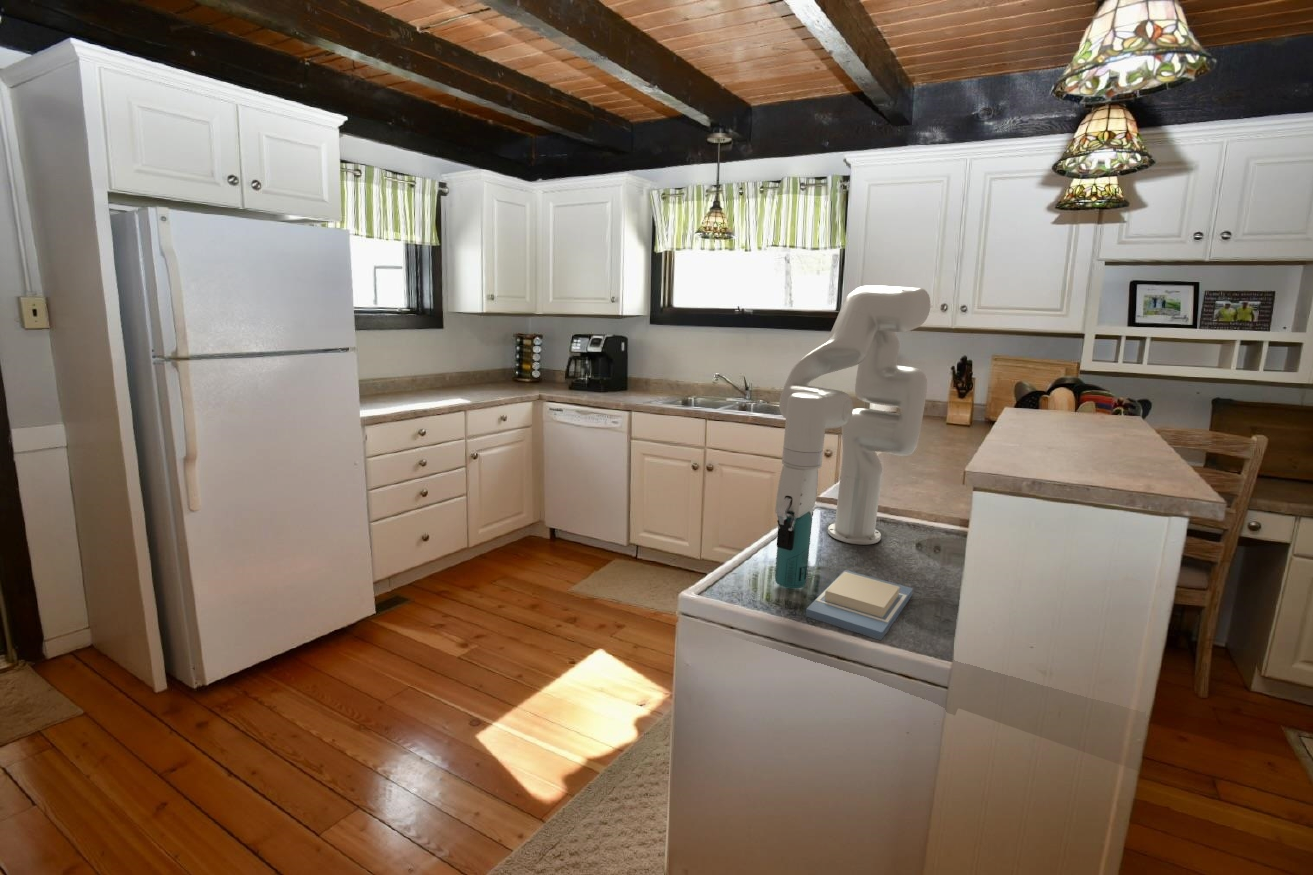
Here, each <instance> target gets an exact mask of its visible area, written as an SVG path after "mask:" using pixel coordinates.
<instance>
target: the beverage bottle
mask: <svg viewBox="0 0 1313 875" xmlns="http://www.w3.org/2000/svg"><path fill="white" fill-rule="evenodd" d="M787 513H789V514H793V515H794V513H791V512H787ZM786 519H787V520H788V521H789V523H790V522H791V519H790V518H786ZM811 522H812V523H813V516H811V515H810V514H809V513H808V512H807V513H806V514H804V515H803V516H801V517H800V518H797V519H796V522H795V525H794V528H793V530H794V531H795V534H794V544H793V549H792V550H791V551H790V550H786V549H782V548H779V547H777V546H776V557H775V570H774V576H773V577H774V579H775V580H774V581H775V583H776V584H777V585H778V586H781V587H783V588H787V589H802V588H803V587H805V585H806V584H807V578H808V574H809V572H808V571H809V570H808V568H809V557H810V545H811V535H810V533H811V534H812V527H811Z"/></svg>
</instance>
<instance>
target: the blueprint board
mask: <svg viewBox="0 0 1313 875" xmlns="http://www.w3.org/2000/svg"><path fill="white" fill-rule="evenodd" d="M913 592H914V588H913V587H909V586H906V585H902V584H899V583H895V582H891V581H887V580H884V579H880V578H877V577H873V576H869V575H867V574H866V575H865V574H862V573H858V572H854V571H850V570H846V569H844V570H843V571H841V573H840V574H839V575H838V576H837V577H836V578H835V579H834V580H833V581H832V582H831V583H830V584H829V585H828V586H827V587H826V589H824V590H823V591H822V592H821V594H819V596H817V598H815V599H814V600H813V601H812V603H810V604H809V605H808V606H807V608H806V609H805V617H807V618H811V619H812V620H813V619H814V620H817V621H820V622H822V623H826V624H829V625H832V626H835V627H838V628H842V629H845V630H848V631H851V632H854V633H856V634H860V635H863V636H866V637H869V638H873V639H877V640H880V641H882V640H883V638H884V637H885V635H886V634H887V633H888V632H889V629H890V628H891V626H892V625H893V624H894V622H896V620H897V618H898V616H899V615H900V614H901V612H902V611H903V609H904V608H905V606H906V605H907V603H908V602H909V601H910V599H911V598H912V597H913ZM886 632H887V633H886Z"/></svg>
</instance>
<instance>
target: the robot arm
mask: <svg viewBox="0 0 1313 875" xmlns="http://www.w3.org/2000/svg"><path fill="white" fill-rule="evenodd" d="M841 305H842V306H841V308H840V310H839V312H838V315H837V318H836V319H835V320H834V321H835V322H834V324H833V327H832V329H831V331H830V333H829V335H828V337H827V340H826V342H825V343H823V344H820V346H818V347H816V348H814V349H813V350H812V351H810V352H809V353H807V354H806V355H805V356H803V357H802V358H801V359H800V360H799V361H797V362H796V364H795V365H794V366H793V367H792V369H791V371H790V372H789V375H788V376H787V378H786V381H785V384H784V386H783V389H782V391H781V394H780V397H779V404H778V406H779V408H778V410H779V411H780V414H781V416H782V417H783V418H784V419H785V425H784V437H783V447H782V448H783V449H782V459H781V464H782V467H781V471H780V477H779V481H778V487H777V493H776V494H777V495H776V501H775V510H774V511H775V514H776V515H777V516H776V517H777V537H776V548H777V547H779V548H782V549H786V550H790V551H791V550H792V549H793V544H794V534H795V531H794V530H793V528H794V525H795V522H796V519H797V518H800V517H801V516H803V515H804V514H806V513H807V512H808V513H809V514H810V515H811V516H812V517H813V516H814V507H815V505H816V502H817V495H818V485H819V484H818V482H819V469H821V468H822V462H823V454H824V453H823V452H824V445H825V444H824V443H825V434H826V429H839V428H841V437H842V438H841V440H842V458H841V468H840V477H839V486H838V493H837V504H836V513H835V519H834V520H835V521H834V523H831V524H830V525H828V526H827V533H828V535H829V536H831V537H832V538H834V539H835V540H837V541H839V542H840V541H841V542H844V543H847V544H852V545H862V546H863V545H865V546H868V545H873V544H876V543H879V542H880V541H881V539H882V534H881V532H880V531H879V530H878V529H876V524H877V518H878V510H879V508H878V507H879V502H880V493H881V487H882V477H883V465H882V463H881V460H880V458H879V456H878V454H877V452H879V453H884V454H891V455H895V456H901V457H906V456H908V457H909V456H910V455H912V454H913V453H914V452H915V450H916V449H917V447H918V444H919V440H920V434H921V431H922V430H921V429H922V424H923V417H924V412H925V406H926V400H927V393H928V380H927V375H926V373H925V372H924V371H923V370H921V369H920V368H916V367H913V366H906V365H905V366H904V365H898V357H899V353H900V352H899V350H900V341H899V338H898V335H897V334H896V333H904V332H905V333H906V332H910V331H913V330H915V329H918V328H919V327H921V326H922V325H923V324H924V323H925V322H926V320H927V319H928V317H929V315H930V310H931V297H930V294H929V293H928V291H927V290H926V289H924V288H922V287H912V286H911V287H910V286H893V285H890V286H889V285H876V284H875V285H862V286H859V287H856V288H855V289H854V290H853V291H851V292H850V293H849V294H848V295H846V297H845V299H844V300H843V303H842V304H841ZM856 366H857V371H856V377H855V384H854V392H855V396H856V398H857V399H858V400H860V401H862V402H864V403H867V404H873V405H879V406H880V405H881V406H886V407H892V408H893V407H894V408H898V409H899V412H900V413H896V412H891V411H885V410H878V409H873V408H872V409H871V408H865V407H861V408H854V403H853V400H852V398H851V396H850V395H849V394H848V393H846V392H845V391H842V390H839V389H832V388H825V387H819V386H812V385H810V384H811V383H812V382H813V381H815V380H816V379H818V378H820V377H821V376H825V375H827V374H830V373H833V372H834V373H835V372H837V371H842V370H846V369H849V368H852V367H856ZM787 512H791V513H794V515H793V514H789V513H787ZM786 518H790V519H791V522H790V523H789V521H788V520H787V519H786ZM812 524H813V521H812V522H811V528H812V527H813V526H812ZM810 536H812V532H811V533H810Z"/></svg>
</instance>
